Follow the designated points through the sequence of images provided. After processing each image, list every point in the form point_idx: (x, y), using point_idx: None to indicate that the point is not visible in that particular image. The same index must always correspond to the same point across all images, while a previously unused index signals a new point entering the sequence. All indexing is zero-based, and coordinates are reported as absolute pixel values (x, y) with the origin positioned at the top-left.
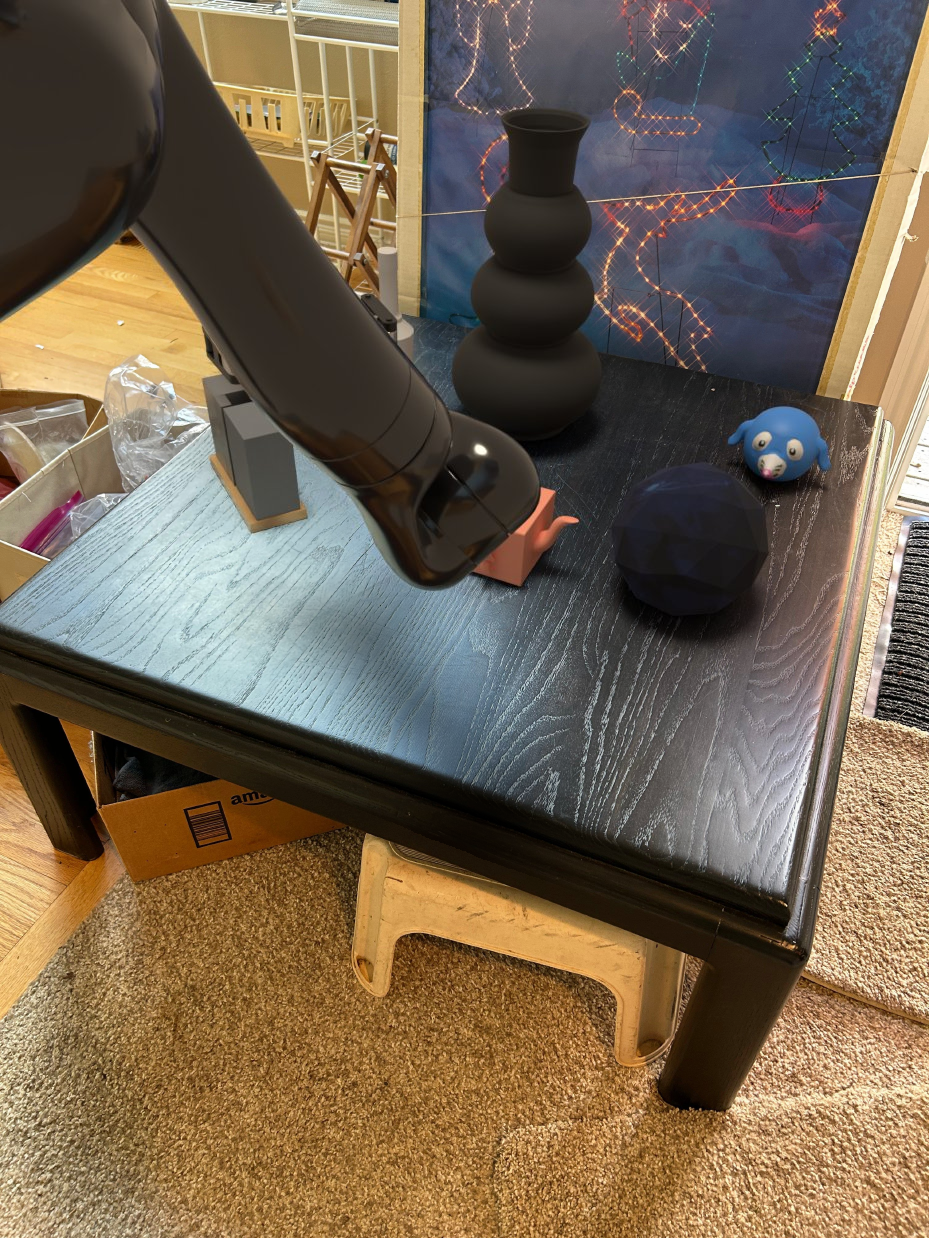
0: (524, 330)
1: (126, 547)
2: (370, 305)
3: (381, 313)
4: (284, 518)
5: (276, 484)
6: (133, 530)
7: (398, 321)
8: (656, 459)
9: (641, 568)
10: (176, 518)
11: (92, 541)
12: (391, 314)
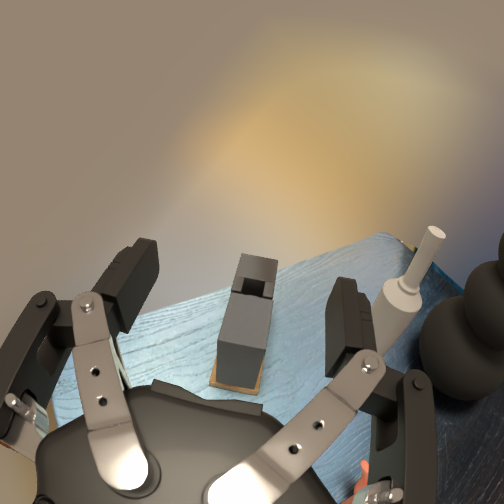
0: (493, 338)
1: (132, 342)
2: (410, 431)
3: (417, 481)
4: (238, 389)
5: (238, 372)
6: (147, 331)
7: (414, 294)
8: (496, 437)
9: None
10: (176, 338)
11: None
12: (434, 493)
